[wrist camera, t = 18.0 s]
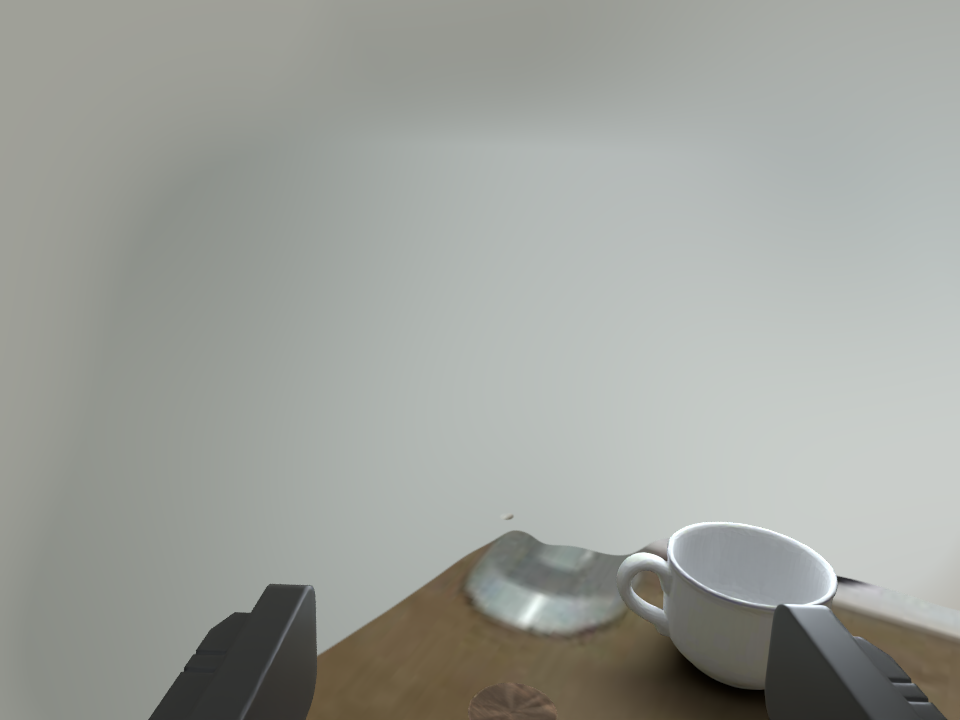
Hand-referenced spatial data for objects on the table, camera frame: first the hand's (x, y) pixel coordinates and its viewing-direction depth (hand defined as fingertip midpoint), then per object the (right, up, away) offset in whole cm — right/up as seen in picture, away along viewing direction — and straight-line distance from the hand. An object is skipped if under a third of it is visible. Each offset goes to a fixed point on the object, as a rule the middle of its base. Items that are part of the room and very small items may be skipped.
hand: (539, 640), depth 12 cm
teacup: (+15, -16, +37) cm, 43 cm away
